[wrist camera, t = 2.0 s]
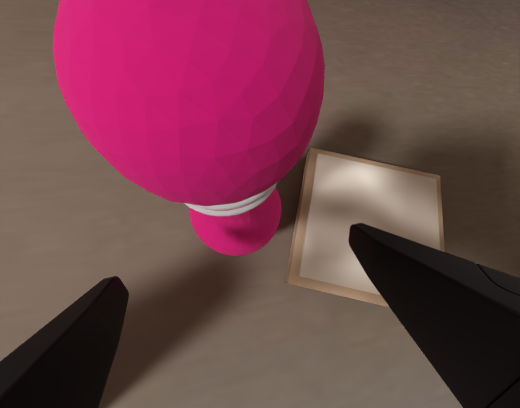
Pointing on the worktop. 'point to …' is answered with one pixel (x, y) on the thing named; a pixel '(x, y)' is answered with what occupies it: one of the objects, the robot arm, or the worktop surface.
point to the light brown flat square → (357, 219)
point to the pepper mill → (196, 101)
